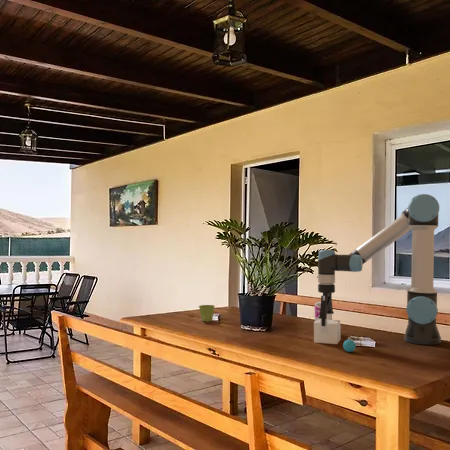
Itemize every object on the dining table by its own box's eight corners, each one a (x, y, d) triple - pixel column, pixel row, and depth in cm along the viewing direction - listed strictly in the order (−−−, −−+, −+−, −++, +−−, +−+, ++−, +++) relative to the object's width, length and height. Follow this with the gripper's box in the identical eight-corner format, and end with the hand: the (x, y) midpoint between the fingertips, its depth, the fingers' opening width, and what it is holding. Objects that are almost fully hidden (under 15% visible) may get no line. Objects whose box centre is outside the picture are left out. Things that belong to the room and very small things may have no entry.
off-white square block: (340, 339, 216) (340, 320, 216) (337, 344, 206) (336, 324, 206) (318, 337, 219) (318, 319, 220) (314, 342, 210) (313, 322, 210)
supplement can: (319, 335, 226) (319, 303, 227) (312, 331, 234) (311, 301, 235) (335, 333, 228) (334, 303, 229) (327, 330, 236) (326, 301, 237)
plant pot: (196, 320, 271) (196, 305, 272) (211, 319, 275) (211, 304, 276) (202, 322, 263) (202, 307, 263) (217, 321, 267) (217, 306, 267)
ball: (356, 351, 193) (356, 338, 193) (355, 353, 188) (354, 341, 188) (344, 350, 195) (343, 337, 195) (342, 352, 190) (342, 340, 190)
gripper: (323, 281, 227) (323, 325, 226) (312, 285, 203) (312, 335, 203) (338, 281, 224) (338, 326, 223) (330, 286, 201) (330, 336, 200)
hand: (326, 330), depth 213 cm, fingers open, 13 cm apart
